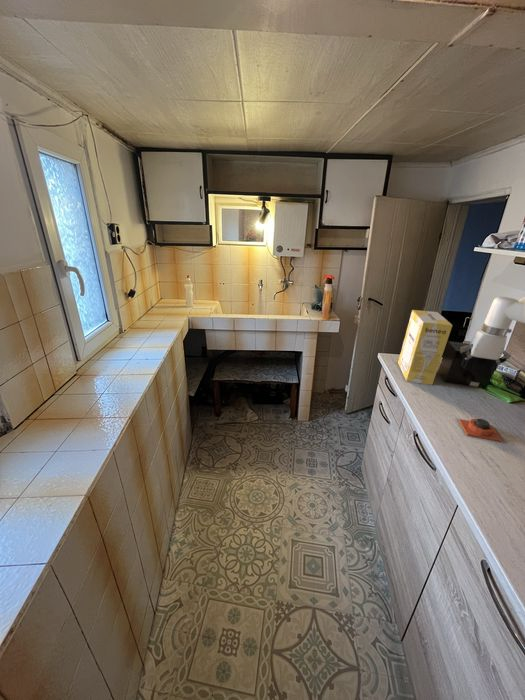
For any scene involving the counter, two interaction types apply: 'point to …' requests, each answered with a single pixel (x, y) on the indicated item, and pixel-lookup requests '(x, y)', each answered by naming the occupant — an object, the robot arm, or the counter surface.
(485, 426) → the button
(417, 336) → the pasta box
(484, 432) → the switch block
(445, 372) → the toaster
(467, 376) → the press handle
